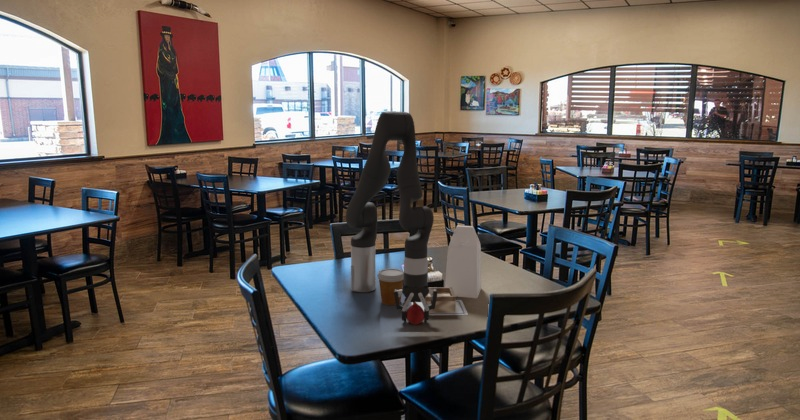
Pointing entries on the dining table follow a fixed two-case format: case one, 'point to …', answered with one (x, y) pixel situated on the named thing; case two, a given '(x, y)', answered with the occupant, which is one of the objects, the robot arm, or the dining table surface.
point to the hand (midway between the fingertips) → (415, 321)
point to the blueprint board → (459, 310)
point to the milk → (464, 263)
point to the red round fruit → (415, 314)
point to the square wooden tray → (443, 300)
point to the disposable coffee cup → (390, 284)
